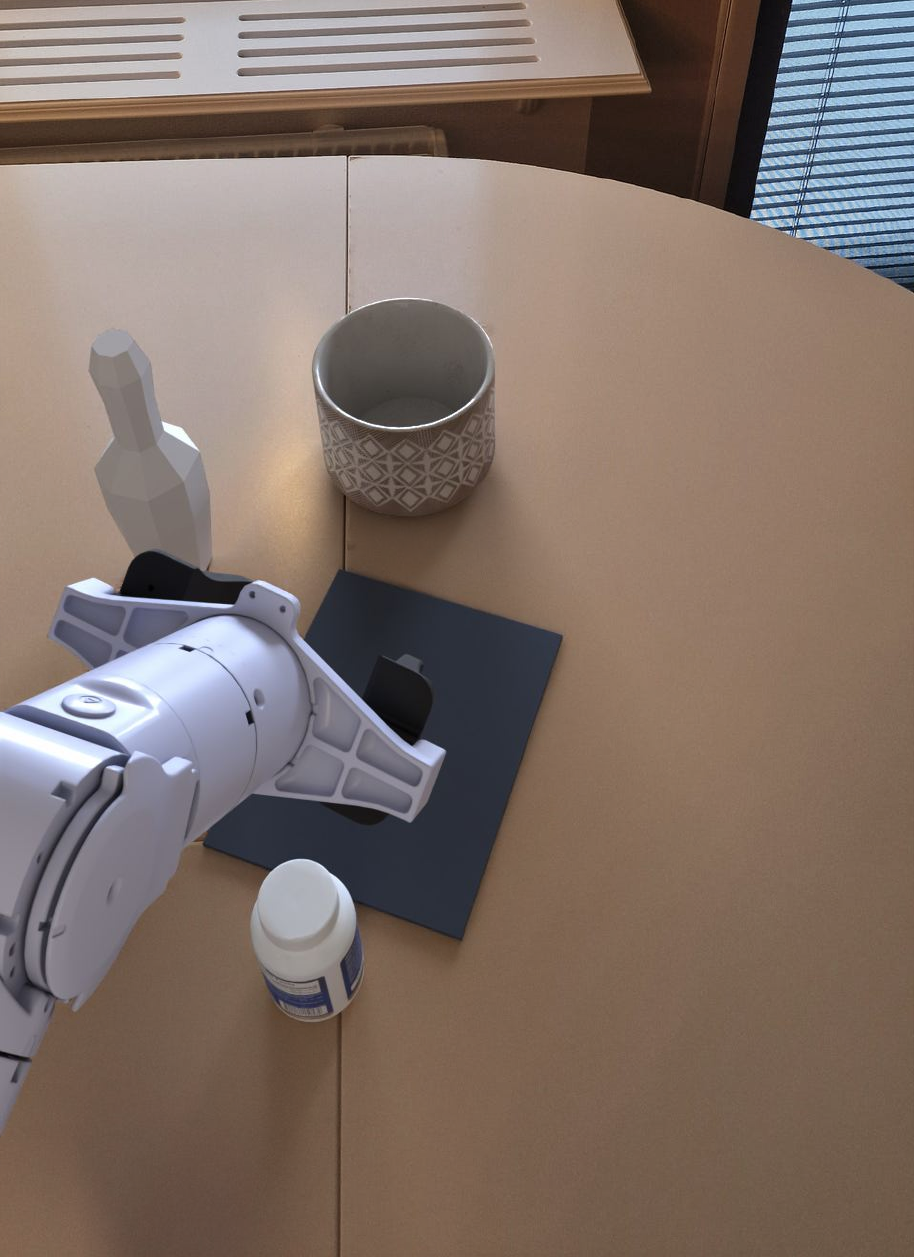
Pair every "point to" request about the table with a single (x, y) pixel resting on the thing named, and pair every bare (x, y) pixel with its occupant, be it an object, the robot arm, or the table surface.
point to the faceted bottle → (148, 459)
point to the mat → (458, 723)
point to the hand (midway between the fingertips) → (324, 641)
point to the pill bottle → (307, 941)
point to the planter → (406, 405)
